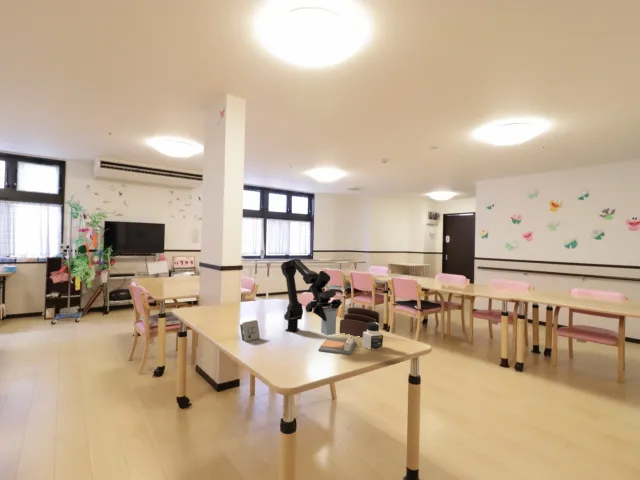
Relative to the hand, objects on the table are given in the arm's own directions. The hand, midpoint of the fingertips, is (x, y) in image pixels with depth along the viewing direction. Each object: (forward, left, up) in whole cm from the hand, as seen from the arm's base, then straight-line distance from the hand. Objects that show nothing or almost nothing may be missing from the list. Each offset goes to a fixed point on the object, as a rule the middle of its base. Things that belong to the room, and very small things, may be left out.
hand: (330, 320), depth 158 cm
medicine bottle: (-9, +20, -14) cm, 26 cm away
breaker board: (-3, +4, -13) cm, 14 cm away
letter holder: (-30, +10, -14) cm, 35 cm away
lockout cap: (-1, -1, -7) cm, 7 cm away
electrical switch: (+1, -41, -14) cm, 44 cm away
